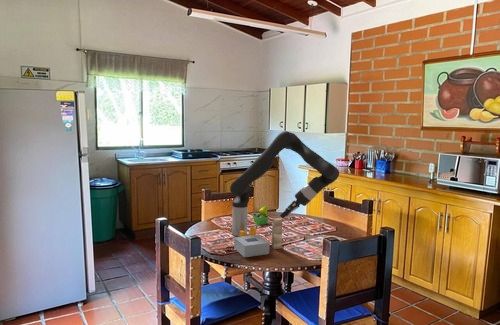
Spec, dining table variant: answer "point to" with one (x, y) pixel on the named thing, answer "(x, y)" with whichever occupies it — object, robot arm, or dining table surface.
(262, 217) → the fruit basket
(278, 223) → the wooden bar
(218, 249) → the dining table surface
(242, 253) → the grey square socket block
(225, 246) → the dining table surface
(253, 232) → the pipe clamp
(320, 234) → the dining table surface
